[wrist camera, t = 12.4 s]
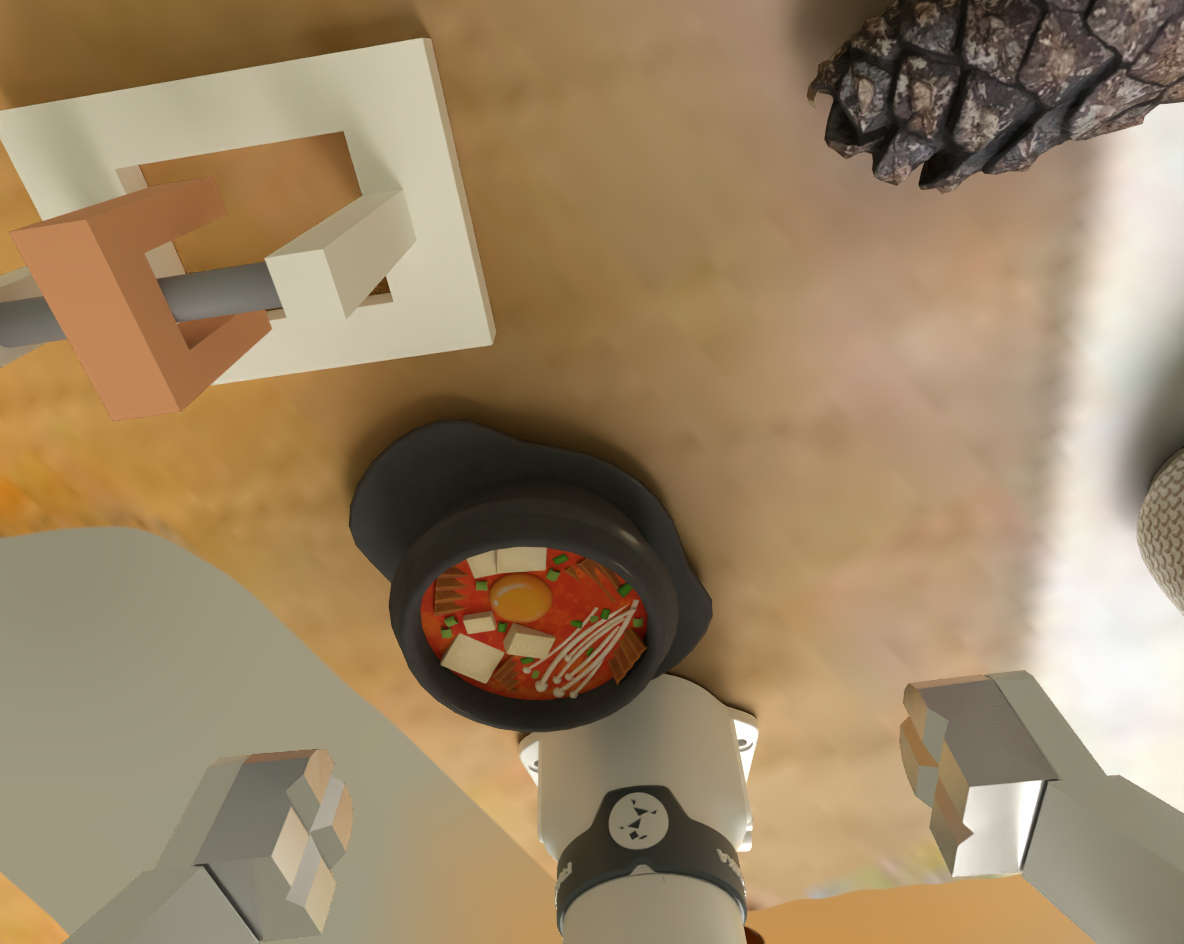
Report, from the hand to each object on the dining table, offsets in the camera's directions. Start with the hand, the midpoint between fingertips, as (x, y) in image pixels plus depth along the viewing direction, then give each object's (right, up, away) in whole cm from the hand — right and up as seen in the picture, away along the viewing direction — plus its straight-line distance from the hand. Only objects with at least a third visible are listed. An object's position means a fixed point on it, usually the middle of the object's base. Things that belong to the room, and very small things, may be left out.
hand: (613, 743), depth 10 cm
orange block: (-16, +13, +20) cm, 29 cm away
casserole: (-4, -2, +37) cm, 38 cm away
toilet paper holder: (-16, +16, +26) cm, 35 cm away
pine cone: (+18, +24, +23) cm, 37 cm away
